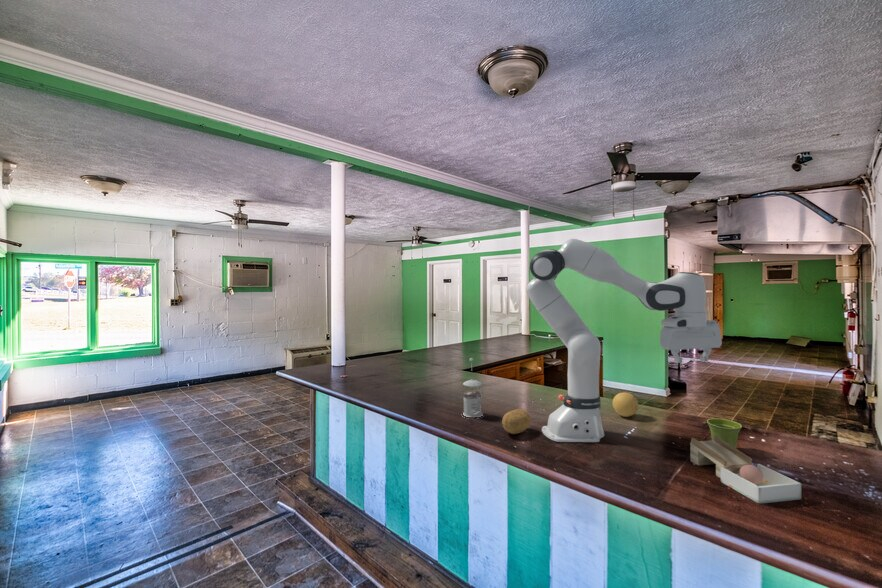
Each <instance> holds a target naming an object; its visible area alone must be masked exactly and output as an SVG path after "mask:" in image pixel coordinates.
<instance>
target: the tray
mask: <svg viewBox="0 0 882 588" xmlns="http://www.w3.org/2000/svg"><path fill="white" fill-rule="evenodd" d="M756 467H757V468H759V469H760V470H761V472H762V474H763V481H762V482H761V483H760V484H758V485H755V484H753V483H751V482H749V481H747V480H746V479H744V478H742V477H741V476H740V473H739V474H734V473H732V472H731V471H729V470H727V469H725V468H723V467H721V478H720V482H721V483H722V484H724V485H725V486H727V487H729V488H731V489H733V490H735V491H736V492H738V493H740V494H741V495H743V496H745V497H746V498H748V499H750V500H752V501H754V502H755V503H757V505H758V504H769V503H778V502H787V501H788V502H789V501H797V500H802V483H801V482H799V481H797V480H795V479H793V478H790V477H788V476H786V475H784V474H782V473H780V472H778V471H775V470H773V469H771V468H769V467H767V466H766V465H765V466H764V465H763V464H761V463H757V466H756Z"/></svg>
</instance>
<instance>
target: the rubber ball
mask: <svg viewBox="0 0 882 588" xmlns="http://www.w3.org/2000/svg"><path fill="white" fill-rule="evenodd" d="M740 476H741V477H742V478H744V479H746V480H747V481H749V482H751V483H753V484H755V485H758V484H760V483H761V482H762V481H763V474H762V472H761V470H760V469H759V468H758V467H757V466H756V465H753V464H752V465H744V466H742V467H741V469H740Z"/></svg>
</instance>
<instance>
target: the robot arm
mask: <svg viewBox="0 0 882 588" xmlns="http://www.w3.org/2000/svg"><path fill="white" fill-rule="evenodd" d="M565 269H570V270H573V271H574V272H577V273H578V274H581V275H582V276H584V277H586V278H589V279H592V280H594V281H598V282H601V283H607V284H611V285H614V286H616V287H618V288H620V289H622V290H624V291H626V292H628V293H629V294H631V295H632V296H635V297H636V298H637V299H638V300H639V301H640V302H641V304H642V305H643V306H644V307H645V308H647V309H649V310H651V311H658V312H666V311H669V310H674V315H671V316H669V317H666V318H664V319H661V321H660V324H661V326H662V328H661V329H660V334H659V346H660V348H662V350H666V351H670V353H671V354H672V356H673V357H674V359H673V360H674V363H675V364H676V363H677V364H682V363H683V357H681V356H680V354H679V353H680V351H681V350H694V349H695V350H697V349H698V350H699V349H701V350H702V351H703V352H702V354H701V355H700V356H699V358H700V359H699V361H700V362H702V363H703V362H704V363H705V362H706V363H707V362H709V356H710V355H711V352H712V349H718V348H721V346H722V344H723V342H722V333H721V329H720V323H719V322H718V321H716V320H715V319H709V320H708V319H707V317H708V316H707V308H706V301H707V287H706V282H705V278H704V276H703V275H701V274H700V273H695V272H688V271H687V272H685V271H682V272H681V271H680V272H677V273H676V274H674V275H673V276H671V277H669V278H667V279H665V280H662V281H660V282H649V281H647V280H643V279H642V278H640V277H638V276H636V275H635V274H632V273H631V272H629V271H626V270H625V269H624V268H623V267H622V266H621V265H620V264H619V262H618V261H617V259H616V258H615V257H614V256H613V255H611V254H610V253H608V252H607V251H605V250H603V249H602V248H601V247H598V246H596V245H594V244H592V243H589V242H586V241H583V240H580V239H577V238H569V239H567V240H566V241H565V242H564V243H562V245H561V246H560V248H558V250H557V249H554V248H553V249H552V248H549V249H548V248H547V249H542V250H540V251H539V252H537V253H535V254H534V255H533V257H532V258H531V260H530V262H529V271H530V273H531V274H532V277H533V279H531V280H530V281H529V282H528V284H527V285H526V288H525V289H526V290H525V291H526V293H527V295H528V298H529V300H530V301H531V303H532V305H533V306H534V308H535V309H536V311H537V312H538V313H539V314H540V316H541V317H542V319H544V321H545V323H547V324H548V326H549V327H550V329H551V330H552V331H553V332H554V333H555V334H556V336H557V337H558V338H559V339H560V341H561V342H562V343H563V344H564V346H565V347H566V348H567V393H566V395H563V394H559V395H558V400H560V401H562V402H563V403H562V404H561V405H560V406H559V407H558V408H557V409H555V410H554V411H553V412H551V413H550V414H549V416H548V418H547V419H548V420H547V425H543V426H541V427H542V428H541V432H542V434H543V435H544V436H545V437H546V438H548V439H550V440H551V441H553V442H558V443H599V442H600V441H601V439H602V438H604V437H605V436H606V435H605V431H604V429H603V428H604V427H603V425H602V424H603V423H602V418H601V407H602V406H601V405H602V404H601V395H600V383H599V382H600V367H601V366H600V363H601V343H600V342H601V341H600V340H599V338H598V337H597V336H596V335H595V334H594V333H593V332H592V331H591V330H590V329H589V327H588V326H587V325H586V323H585V321H583V319H582V318H581V317H580V315H579V314H578V312H577V311H576V310H575V308H574V307H573V306H572V304H570V302H569V301H568V300H567V299H566V297H565V296H564V295H563V294H562V292H561V291H560V290H559V289H558V287H557V286H556V283H555V280H556V279H557V277H558V276H559V275H560V273H561V272H562V271H563V270H565Z"/></svg>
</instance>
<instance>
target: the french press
mask: <svg viewBox="0 0 882 588" xmlns="http://www.w3.org/2000/svg"><path fill="white" fill-rule="evenodd" d="M474 361H475V360H474V358H473V357H470V358H469V362H471V363H470V365H471V370H473V362H474ZM462 385H463V387H466V388H477V389H478V391H477V390H466V391H464V395H463V412H462V413H463V415H464V416H466V417H481V416H483V414H484V413H483V412H482V399H483V395H484V394H483V387H482V383H481V382H480V381H478V380H476V379H469V380H466V381H464V382H463V383H462ZM480 389H481V391H480ZM483 417H484V416H483ZM481 418H482V417H481Z"/></svg>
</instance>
